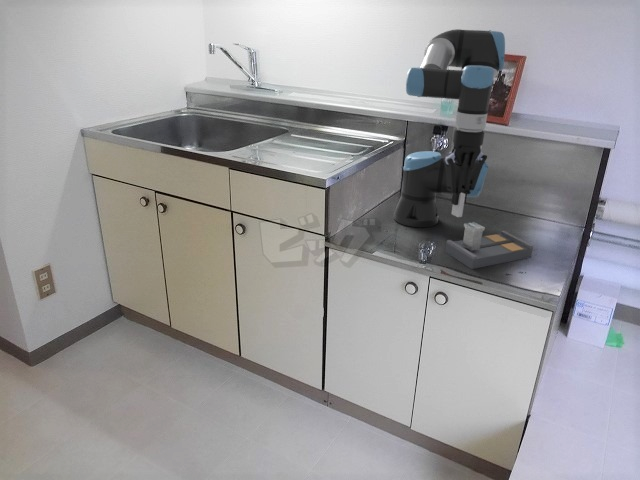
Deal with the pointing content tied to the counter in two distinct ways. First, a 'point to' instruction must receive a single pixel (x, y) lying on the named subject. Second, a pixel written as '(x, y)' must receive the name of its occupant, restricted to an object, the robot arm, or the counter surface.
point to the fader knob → (472, 236)
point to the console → (490, 250)
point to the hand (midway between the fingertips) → (456, 215)
